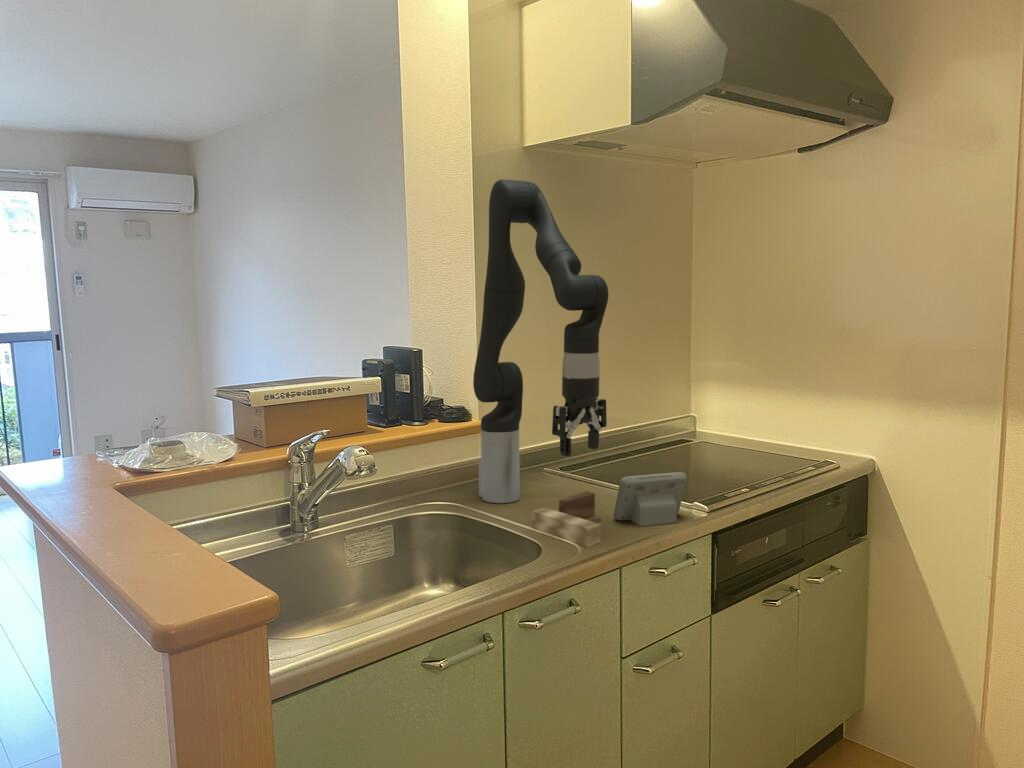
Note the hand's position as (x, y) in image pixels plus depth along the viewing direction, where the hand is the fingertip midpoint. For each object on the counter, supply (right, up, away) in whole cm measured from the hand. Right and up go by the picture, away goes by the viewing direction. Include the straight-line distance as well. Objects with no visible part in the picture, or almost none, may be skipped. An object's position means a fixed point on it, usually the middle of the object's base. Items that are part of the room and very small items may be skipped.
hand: (579, 452), depth 160 cm
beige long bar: (-3, -18, +3) cm, 18 cm away
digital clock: (+17, -16, +13) cm, 27 cm away
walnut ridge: (0, -16, +11) cm, 20 cm away
